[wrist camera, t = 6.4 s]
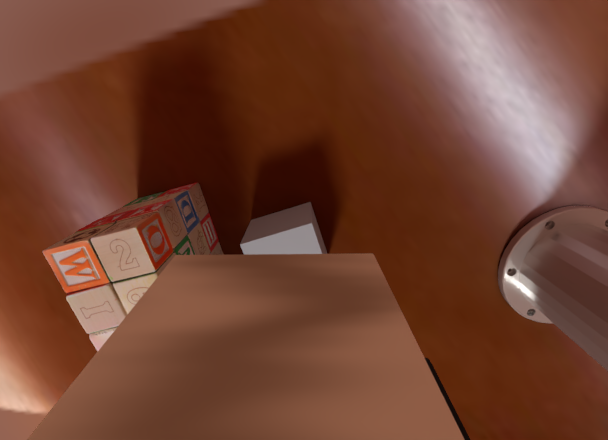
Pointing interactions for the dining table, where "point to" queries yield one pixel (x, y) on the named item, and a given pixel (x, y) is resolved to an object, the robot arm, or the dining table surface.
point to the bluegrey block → (284, 233)
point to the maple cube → (258, 358)
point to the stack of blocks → (129, 255)
